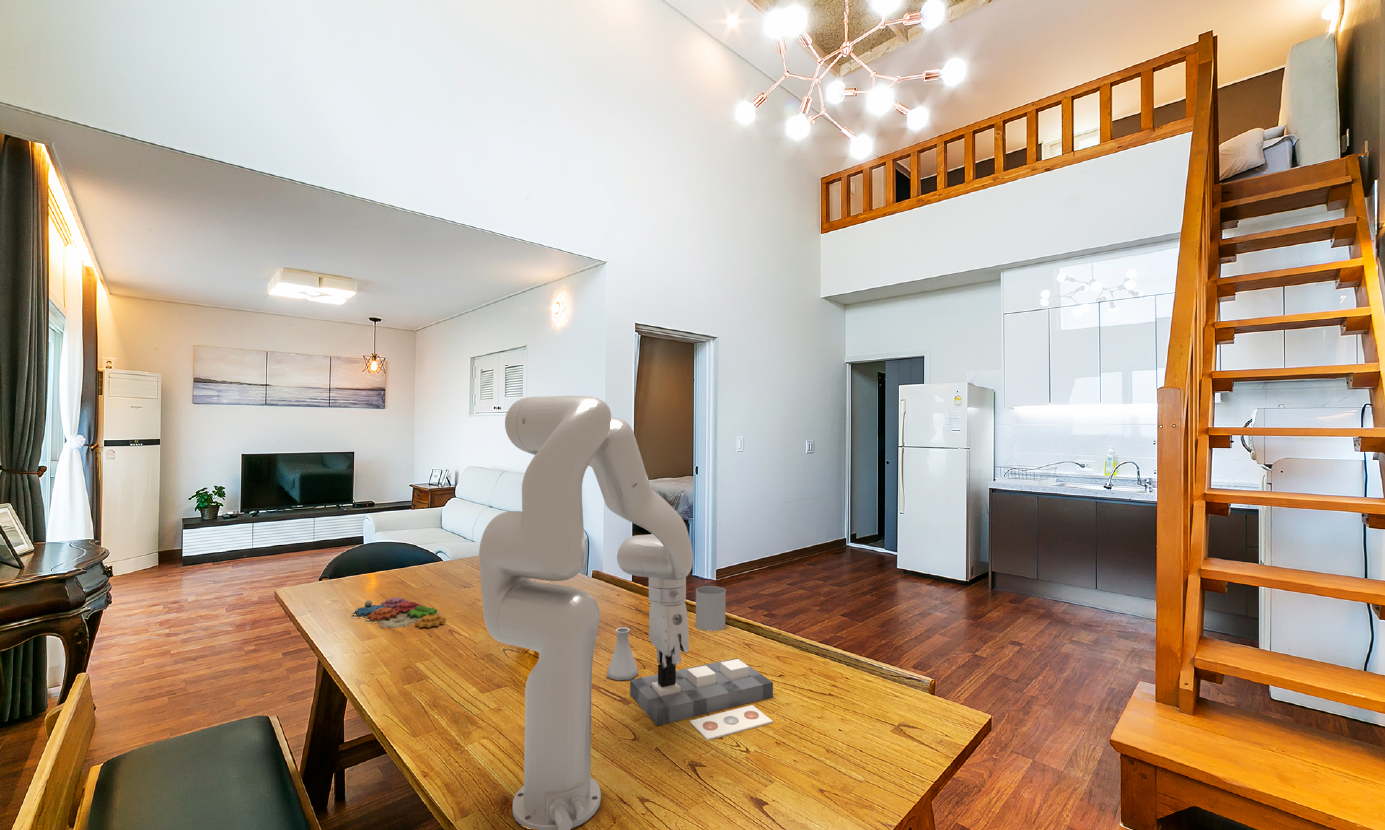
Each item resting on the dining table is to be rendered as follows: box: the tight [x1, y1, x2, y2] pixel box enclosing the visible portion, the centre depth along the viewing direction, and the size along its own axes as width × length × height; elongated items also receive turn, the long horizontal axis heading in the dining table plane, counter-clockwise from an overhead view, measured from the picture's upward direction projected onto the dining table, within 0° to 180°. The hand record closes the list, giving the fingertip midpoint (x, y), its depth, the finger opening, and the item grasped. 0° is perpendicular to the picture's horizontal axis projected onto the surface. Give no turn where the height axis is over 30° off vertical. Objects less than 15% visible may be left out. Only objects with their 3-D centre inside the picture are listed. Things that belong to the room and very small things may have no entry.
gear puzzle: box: [351, 596, 447, 629], centre depth 166 cm, size 31×16×4 cm, turn 58°
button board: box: [629, 657, 774, 727], centre depth 119 cm, size 14×26×3 cm, turn 117°
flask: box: [606, 626, 639, 681], centre depth 129 cm, size 7×7×10 cm
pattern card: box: [689, 704, 774, 741], centre depth 108 cm, size 7×14×1 cm, turn 117°
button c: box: [652, 681, 681, 696], centre depth 115 cm, size 4×4×4 cm
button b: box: [687, 665, 716, 688], centre depth 119 cm, size 4×4×4 cm
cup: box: [695, 585, 727, 632], centre depth 161 cm, size 8×8×10 cm
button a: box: [720, 658, 750, 681], centre depth 123 cm, size 4×4×4 cm
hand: (666, 684), depth 115 cm, fingers closed
